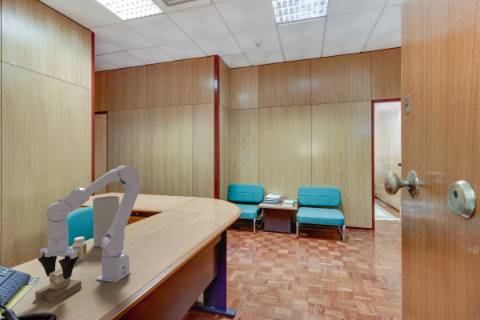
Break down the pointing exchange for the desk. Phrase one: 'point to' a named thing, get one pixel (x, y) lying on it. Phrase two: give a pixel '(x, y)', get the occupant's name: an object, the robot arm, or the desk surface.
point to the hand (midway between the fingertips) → (59, 276)
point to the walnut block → (57, 292)
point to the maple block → (58, 280)
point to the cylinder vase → (103, 216)
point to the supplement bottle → (80, 247)
